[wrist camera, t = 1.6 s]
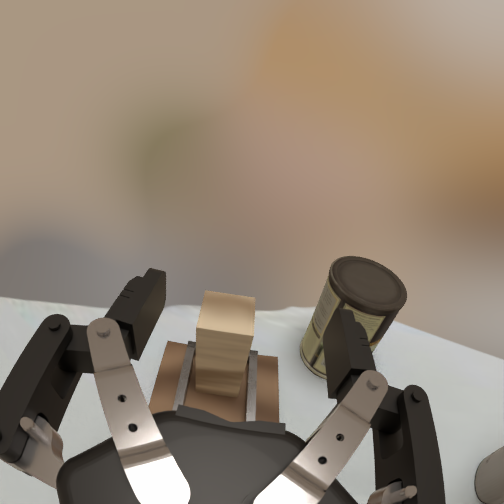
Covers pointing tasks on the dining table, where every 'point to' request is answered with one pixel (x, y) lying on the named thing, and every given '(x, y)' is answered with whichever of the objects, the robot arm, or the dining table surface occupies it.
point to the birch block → (223, 342)
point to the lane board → (229, 408)
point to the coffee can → (354, 304)
